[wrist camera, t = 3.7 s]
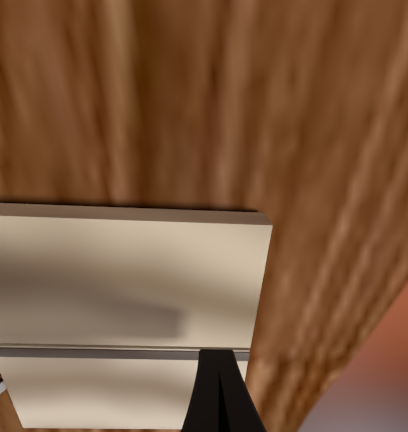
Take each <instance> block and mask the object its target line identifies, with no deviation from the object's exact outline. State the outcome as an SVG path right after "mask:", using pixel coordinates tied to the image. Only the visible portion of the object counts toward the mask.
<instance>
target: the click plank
mask: <svg viewBox="0 0 408 432" xmlns="http://www.w3.org/2000/svg"><path fill="white" fill-rule="evenodd" d="M272 226H273V225H272V224H271V222H270V220H269V218H268V217H267V215H266V213H257V212H230V211H203V210H176V209H149V208H122V207H94V206H67V205H40V204H13V203H0V343H21V344H74V345H127V346H180V347H233V348H250V346H251V340H252V335H253V330H254V324H255V319H256V313H257V308H258V302H259V297H260V291H261V286H262V280H263V275H264V269H265V264H266V259H267V253H268V248H269V242H270V237H271V231H272Z"/></svg>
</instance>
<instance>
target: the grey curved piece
mask: <svg viewBox="0 0 408 432" xmlns="http://www.w3.org/2000/svg"><path fill="white" fill-rule="evenodd" d="M5 389H6V385H5V383H4V380H3V381H1V382H0V393H2V392H3V391H4V390H5Z"/></svg>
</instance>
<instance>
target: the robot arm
mask: <svg viewBox="0 0 408 432" xmlns="http://www.w3.org/2000/svg"><path fill="white" fill-rule="evenodd" d="M181 432H267V431H266V429H265V427H264V425H263V423H262V421H261V419H260V417H259V415H258V413H257V411H256V408H255V406H254V404H253V402H252V399H251V397H250V395H249V393H248V390H247V388H246V385H245V383H244V380H243V378H242V375H241V372H240V370H239V367H238V364H237V361H236V358H235V354H234V351H233V350H227V349H201V350H200V351H199V357H198V367H197V373H196V378H195V383H194V387H193V391H192V395H191V399H190V403H189V407H188V410H187V414H186V417H185V420H184V423H183V426H182V430H181Z"/></svg>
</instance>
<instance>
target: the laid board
mask: <svg viewBox="0 0 408 432" xmlns="http://www.w3.org/2000/svg"><path fill="white" fill-rule="evenodd" d="M201 349H227V350H233V351H234V354H235V358H236V361H237V364H238V367H239V370H240V372H241V375H242V378H243V380H244V381H245V375H246V369H247V363H248V360H249V354H250V352H249V351H250V350H249V348H233V347H180V346H127V345H74V344H21V343H0V373H1V376H2V378H3V380H4V383H5V385H6V388H7V390H8V392H9V395H10V397H11V400H12V402H13V405H14V407H15V409H16V412H17V414H18V417H19V419H20V421H21V424H22V426H23V428H105V429H182V426H183V423H184V420H185V417H186V414H187V410H188V407H189V403H190V399H191V395H192V391H193V387H194V383H195V378H196V373H197V367H198V357H199V351H200V350H201Z"/></svg>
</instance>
